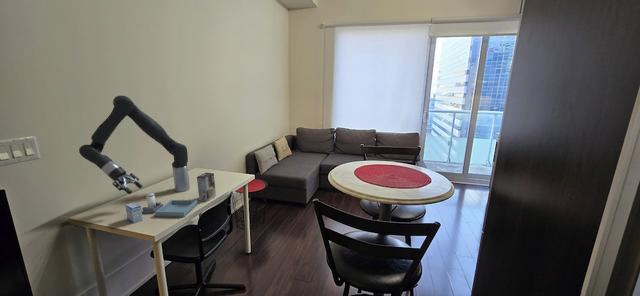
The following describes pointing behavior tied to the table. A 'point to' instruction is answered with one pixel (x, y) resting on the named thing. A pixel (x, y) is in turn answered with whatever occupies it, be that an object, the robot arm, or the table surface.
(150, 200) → the white dome cap bottle
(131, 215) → the medicine box
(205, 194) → the coffee box
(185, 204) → the parts tray
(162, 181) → the table surface
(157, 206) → the holder
